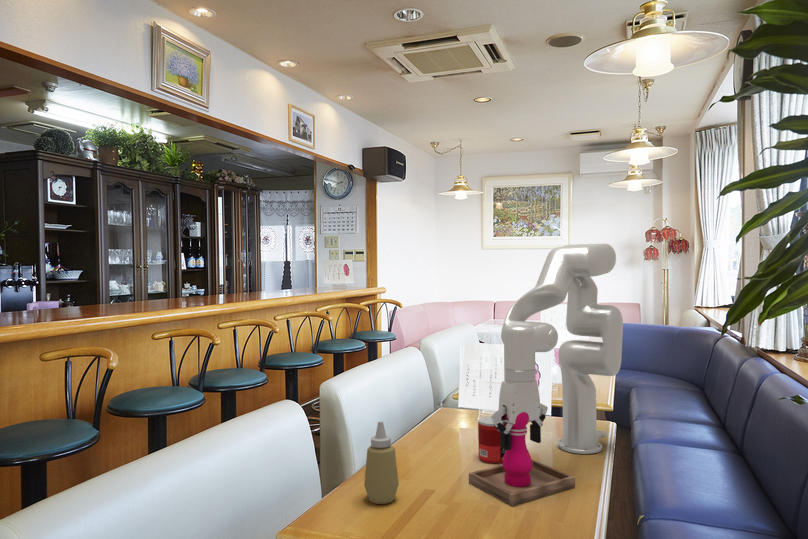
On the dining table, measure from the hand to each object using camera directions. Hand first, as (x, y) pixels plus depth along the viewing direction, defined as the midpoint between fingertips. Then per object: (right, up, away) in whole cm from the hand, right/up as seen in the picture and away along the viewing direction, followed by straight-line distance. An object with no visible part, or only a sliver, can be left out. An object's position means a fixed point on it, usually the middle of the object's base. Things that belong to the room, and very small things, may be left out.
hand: (520, 445), depth 135 cm
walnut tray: (0, -10, 0) cm, 10 cm away
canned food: (-4, -10, +18) cm, 21 cm away
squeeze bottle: (-34, -11, -7) cm, 36 cm away
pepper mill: (-1, -9, -1) cm, 9 cm away
